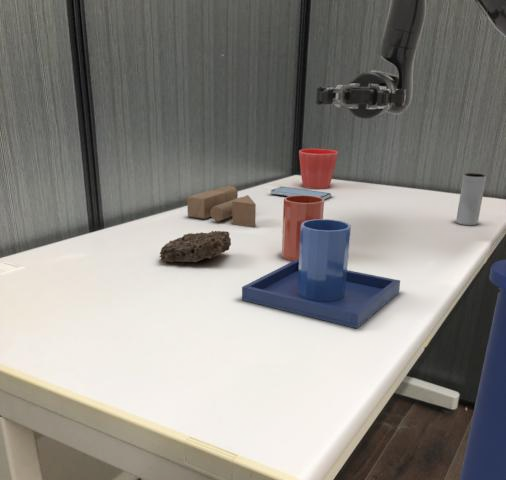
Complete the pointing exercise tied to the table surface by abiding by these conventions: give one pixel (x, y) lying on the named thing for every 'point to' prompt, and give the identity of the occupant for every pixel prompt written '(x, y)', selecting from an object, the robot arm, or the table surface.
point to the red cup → (298, 221)
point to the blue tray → (340, 311)
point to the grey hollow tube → (470, 198)
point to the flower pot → (317, 167)
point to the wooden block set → (222, 206)
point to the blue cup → (323, 259)
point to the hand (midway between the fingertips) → (352, 97)
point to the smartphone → (299, 192)
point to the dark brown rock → (196, 247)
